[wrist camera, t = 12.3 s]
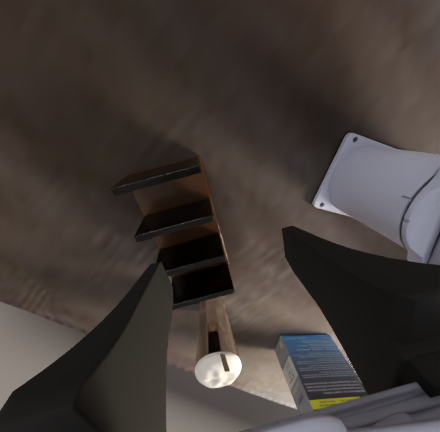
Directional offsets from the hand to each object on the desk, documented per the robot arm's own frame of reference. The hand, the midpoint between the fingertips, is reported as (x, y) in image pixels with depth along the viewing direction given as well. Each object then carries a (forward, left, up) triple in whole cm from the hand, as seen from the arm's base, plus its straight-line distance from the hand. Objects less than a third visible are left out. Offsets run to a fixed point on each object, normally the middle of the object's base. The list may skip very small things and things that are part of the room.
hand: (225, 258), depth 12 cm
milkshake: (-4, +14, -11) cm, 18 cm away
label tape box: (-21, +20, -11) cm, 31 cm away
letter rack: (+2, +3, -10) cm, 11 cm away
